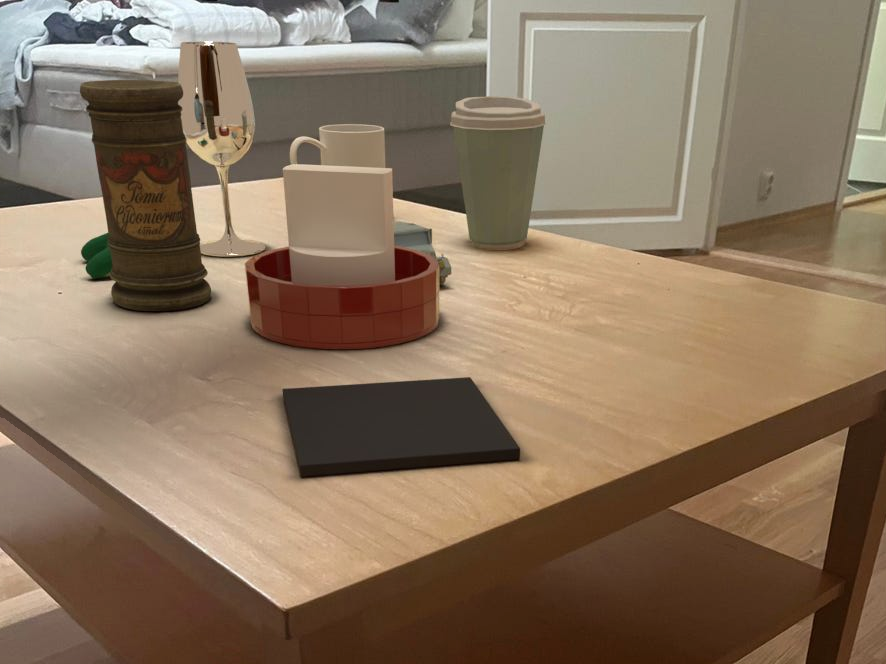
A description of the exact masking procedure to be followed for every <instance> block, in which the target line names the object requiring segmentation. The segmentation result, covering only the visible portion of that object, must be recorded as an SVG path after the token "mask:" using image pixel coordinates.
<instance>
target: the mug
mask: <svg viewBox="0 0 886 664" xmlns="http://www.w3.org/2000/svg"><path fill="white" fill-rule="evenodd" d="M318 132H319V133H318V134H319V135H318V136H319V140H318V139H316V138H313V137H309V136H305V135H304V136H303V135H302V136H299V137H296V138H295V139H294V140H293V141H292V143H291V145H290V146H289V147H290V148H289V162H290V165H292V164H298V158H297V153H298V148H299V146H300V145H301V144H303V143H308V144H312V145H314V146H316V147H317V148H318V149H320V151H319V152H320V165H326V166H349V167H372V168H386V143H385V142H386V139H385V136H386V135H385V128H384V127H383V126H380V125H373V124H361V123H359V124H358V123H357V124H356V123H344V124H343V123H342V124H328V125H322V126H320V127H319V128H318Z"/></svg>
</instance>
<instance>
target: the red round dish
mask: <svg viewBox="0 0 886 664" xmlns="http://www.w3.org/2000/svg"><path fill="white" fill-rule="evenodd" d="M394 257H395V281H392V282H384V283H377V284H368V285H343V286H335V285H311V284H303V283H296V282H292V278H291V266H290V254H289V245H288V246H284V247H279V248H273V249H270V250H265V251H262V252H260V253H257V254H254V255H252V257H250V258H249V259H248V260H247V261H246V262H245V263H244V270H245V279H246V289H247V298H248V308H249V317H250V324H251V328H252V330H253V331H254V332H255V333H256V334H258V335H260V336H261V337H263V338H265V339H267V340H270V341H273V342H277V343H280V344H284V345H287V346H288V345H289V346H293V347H294V346H295V347H298V348H299V347H300V348H306V349H307V348H309V349H319V350H360V349H361V350H362V349H373V348H374V349H375V348H382V347H384V348H385V347H389V346H394V345H401V344H405V343H407V342H411V341H415V340H418V339H420V338H423V337H425V336H427V335H428V334H430V333H432V332H433V331H435V329H436V328H438V325H439V317H440V314H441V313H440V312H441V311H440V285H439V263H438V261H437V260H436V259H435V258H434V257H433V256H431V255H428V254H426V253H423V252H421V251H418V250H414V249H409V248H405V247H400V246H395V245H394Z"/></svg>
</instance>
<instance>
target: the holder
mask: <svg viewBox="0 0 886 664" xmlns="http://www.w3.org/2000/svg"><path fill="white" fill-rule="evenodd" d="M281 392H282V400H283V405H284V408H285V413H286V418H287V423H288V426H289V431H290V435H291V440H292V444H293V449H294V453H295V458H296V462H297V466H298V471H299V475H300V477H315V476H316V477H317V476H329V475H341V474H342V475H343V474H354V473H366V472H376V471H377V472H378V471H389V470H402V469H415V468H416V469H417V468H426V467H439V466H452V465H463V464H477V463H479V464H480V463H488V462H502V461H513V460H520V459H521V448H520V446H519V445H518V443H517V441H516V440H515V439H514V437H513V436H512V435H511V433H510V432H509V430H508V429H507V427H506V426H505V425H504V423H503V421H502V420H501V419H500V417H499V416H498V414H497V413H496V412H495V410H494V409H493V407H492V406H491V405H490V403H489V401H488V400H487V399H486V397H485V396H484V394H483V393H482V392H481V391H480V388H478V386H477V385H476V383H475V382H474V380H473V379H472V378H471V377H470V376H468V377H467V376H466V377H451V378H435V379H421V380H420V379H417V380H401V381H386V382H385V381H384V382H369V383H368V382H367V383H353V384H338V385H324V386H323V385H322V386H305V387H289V388H288V387H287V388H282V391H281Z"/></svg>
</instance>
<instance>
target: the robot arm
mask: <svg viewBox="0 0 886 664" xmlns="http://www.w3.org/2000/svg"><path fill="white" fill-rule="evenodd" d="M200 1H201V2H218V0H200ZM378 1H379V2H378V3H390V4H391V3H393V4H395V3H396V4H397V3H400V0H378Z"/></svg>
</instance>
